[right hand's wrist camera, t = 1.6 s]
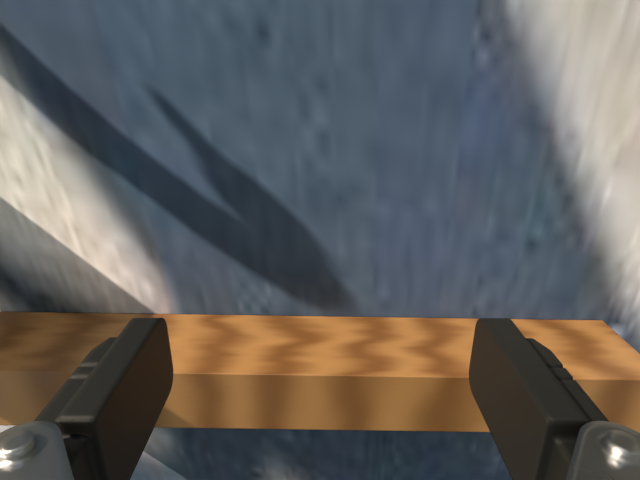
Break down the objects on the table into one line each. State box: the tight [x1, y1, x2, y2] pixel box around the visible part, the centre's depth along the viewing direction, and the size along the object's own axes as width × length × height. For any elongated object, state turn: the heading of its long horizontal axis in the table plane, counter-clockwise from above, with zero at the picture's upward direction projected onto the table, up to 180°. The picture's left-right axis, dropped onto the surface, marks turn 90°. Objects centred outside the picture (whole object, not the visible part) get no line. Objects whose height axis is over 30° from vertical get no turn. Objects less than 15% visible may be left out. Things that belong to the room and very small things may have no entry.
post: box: [0, 312, 640, 433], centre depth 35 cm, size 53×5×8 cm, turn 89°
